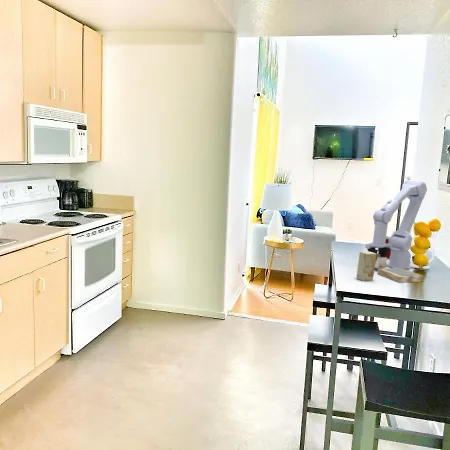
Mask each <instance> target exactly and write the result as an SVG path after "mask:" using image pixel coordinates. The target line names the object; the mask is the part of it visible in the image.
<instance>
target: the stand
mask: <svg viewBox="0 0 450 450" xmlns="http://www.w3.org/2000/svg"><path fill="white" fill-rule="evenodd" d="M376 274H377V275H379V276H381V277H384V278H386V279H389V280H391V281H394V282H397V283H400V284H401V283H417V282H419V283H420V282H424V278H425V276H424V275H422V274H420V273H416V272H413V271H411V270H408V269H402V268H391V267H389V268H377V272H376Z"/></svg>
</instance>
